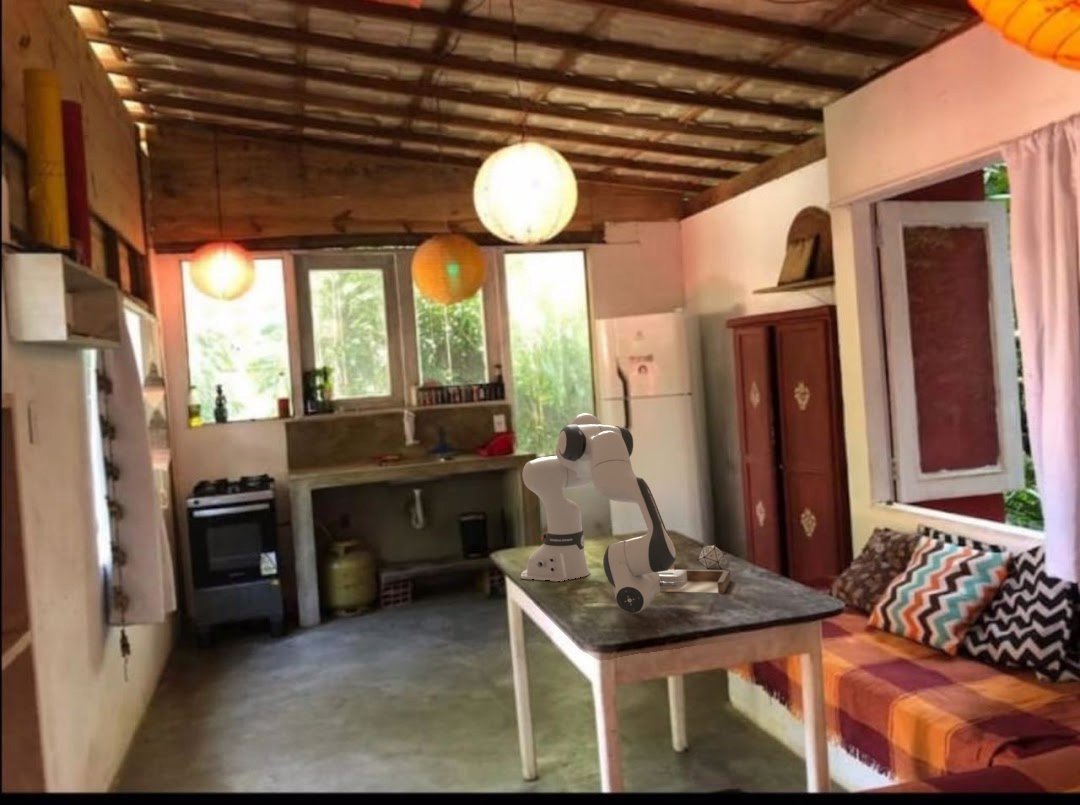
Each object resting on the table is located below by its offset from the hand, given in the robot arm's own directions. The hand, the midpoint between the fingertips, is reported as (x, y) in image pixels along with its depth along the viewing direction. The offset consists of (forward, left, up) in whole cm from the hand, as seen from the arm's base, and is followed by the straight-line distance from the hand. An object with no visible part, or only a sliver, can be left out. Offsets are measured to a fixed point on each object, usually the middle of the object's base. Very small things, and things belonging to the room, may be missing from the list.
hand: (655, 571), depth 239 cm
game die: (+10, +36, -8) cm, 38 cm away
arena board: (+7, +12, -8) cm, 16 cm away
